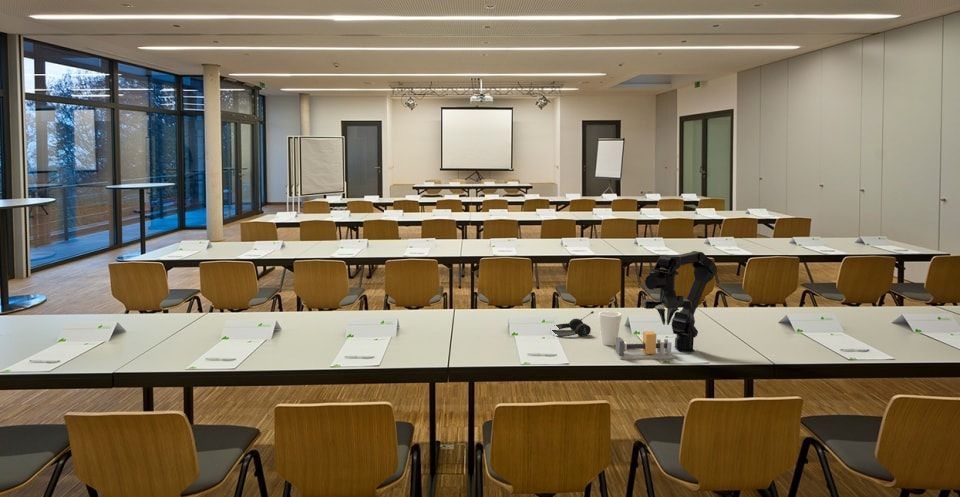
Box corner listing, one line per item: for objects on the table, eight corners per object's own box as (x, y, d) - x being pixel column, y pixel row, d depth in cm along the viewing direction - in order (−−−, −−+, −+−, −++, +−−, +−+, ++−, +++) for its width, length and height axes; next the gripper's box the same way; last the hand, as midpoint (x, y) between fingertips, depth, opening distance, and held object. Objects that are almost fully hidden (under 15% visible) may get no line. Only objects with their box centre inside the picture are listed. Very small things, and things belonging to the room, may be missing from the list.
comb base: (666, 351, 297) (667, 335, 296) (674, 358, 287) (675, 341, 286) (614, 352, 295) (614, 336, 294) (620, 359, 285) (620, 342, 284)
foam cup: (603, 347, 303) (604, 317, 301) (594, 341, 311) (595, 312, 310) (624, 345, 305) (625, 315, 303) (614, 339, 314) (615, 310, 312)
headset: (597, 313, 319) (554, 320, 316) (599, 334, 321) (556, 341, 317) (587, 307, 332) (545, 313, 329) (589, 327, 334) (547, 334, 330)
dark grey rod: (668, 348, 293) (668, 341, 292) (670, 350, 290) (670, 343, 289) (618, 349, 292) (618, 341, 291) (619, 351, 289) (620, 343, 288)
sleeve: (652, 350, 294) (652, 331, 292) (655, 353, 289) (656, 334, 287) (642, 350, 293) (643, 331, 292) (645, 353, 288) (646, 334, 287)
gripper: (650, 290, 279) (648, 330, 281) (697, 290, 280) (695, 329, 282) (642, 285, 290) (640, 323, 292) (687, 284, 291) (686, 322, 293)
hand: (665, 324), depth 290 cm, fingers closed
